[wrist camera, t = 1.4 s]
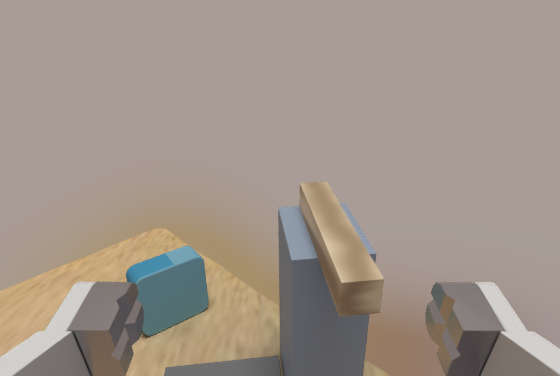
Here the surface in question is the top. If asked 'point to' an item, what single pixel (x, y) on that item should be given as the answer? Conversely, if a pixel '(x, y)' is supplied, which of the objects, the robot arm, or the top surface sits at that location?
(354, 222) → the slate block
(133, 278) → the data package
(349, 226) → the maple rod
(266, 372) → the rubber mat
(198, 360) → the top surface
